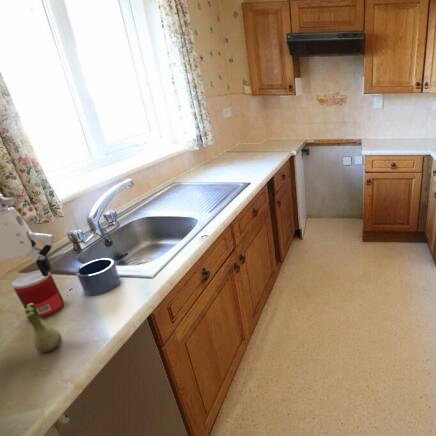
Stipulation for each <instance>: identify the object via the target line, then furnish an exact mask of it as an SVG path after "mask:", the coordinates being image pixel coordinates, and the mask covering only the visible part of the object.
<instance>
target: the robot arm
mask: <svg viewBox="0 0 436 436" xmlns="http://www.w3.org/2000/svg"><path fill="white" fill-rule="evenodd" d="M14 204H15V200H14V198H13V197H5V196H4V194H1V192H0V263H2V262H5V261H9V260H13V259H18V258H22V257H26V256H28V257H31V258H33V259H36V260H35V261H36V262H35V263H36V266H37V267H38V270H40V271H41V273H42V275H43V276H48V274H49V272H51V270H52V265H51V263H50V260H49V259H48V257H47V255H48V254H49V253H50V252H51V250H52V247H53V244H54V239H55V236H54V235H53V234H47V233H38V232H32V230H31V228H30V227H29V226H28V224H27V223H26V221H25V220H24V218H23V217H22V216H21V214H20V213H19V211H17V210H16V208H15V207H14V206H13V207H12V206H11V207H10V205H14ZM38 242H43V244H44V245H43V247H40V246H37V245H38Z"/></svg>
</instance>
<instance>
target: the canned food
mask: <svg viewBox="0 0 436 436" xmlns="http://www.w3.org/2000/svg"><path fill="white" fill-rule="evenodd" d="M11 286H12V288H13V290H14V292H15V294H16V295H17V297H18V299H19V301H20V303H21V305H22V306H23V308H24V310H25V309H26V308H27V305H28V304H30V303H33V304H34V306H35V308H36V310H37V311H38V313H39V315H40V317H41V319H43V318H47V317H49V316H51V315H54V314H55V313H57V312H59V310H61V309H62V308H63V307H64V304H65V301H64V299H63V296H62V294H61V292H60V290H59V287H58V285H57V284H56V281H55V279H54V277H53V276H52V274H51V271H49V274H48V276H43V275H42V273H41V271H40V269H37V270H33V271H30V272H26V273H25V274H22V275H21V276H18V277H17V278H16V279H14V280H13V281H12V283H11Z"/></svg>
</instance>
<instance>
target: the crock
mask: <svg viewBox="0 0 436 436" xmlns="http://www.w3.org/2000/svg"><path fill="white" fill-rule="evenodd" d="M75 274H76V278H77V279H78V282H79V285H80V287H81V289H82V291H83V292H84V294H85V295H87V296H100V295H103V294H106V293H108V292H110V291H112V290H114V289H115V288H116V287H118V286H119V285H120V283H121V276H120V275H119V274H120V273H119V272H118V269H117V266H116V264H115V261H114V260H113V259H112V258H107V257H105V258H99V259H94V260H92V261H89V262H86V263H84V264H83V265H81V266H80V267H79V268H77V269H76V271H75Z"/></svg>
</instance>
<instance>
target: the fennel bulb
mask: <svg viewBox="0 0 436 436" xmlns="http://www.w3.org/2000/svg"><path fill="white" fill-rule="evenodd" d="M24 312H25V314H26V317H27V320H28V321H29V322H30V325H32V341H33V345H34V348H35V350H36V352H38V353H39V354H46V353H48V352H51V351H53V350H55V349H56V348H57V347H59V346H60V344H61V343H62V335H61V333H60V332H59V331H58V330H57V329H56V328H55V327H54V326H51V325H50V324H48V323H47V322H46V321H44V320H43V318H41V317H40V315H39V313H38V311H37V310H36V308H35V306H34V304H33V303H30V304H28V305H27V308H26V309H25V308H24Z"/></svg>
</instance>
